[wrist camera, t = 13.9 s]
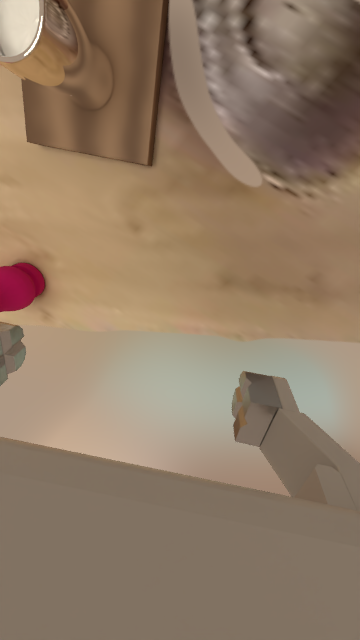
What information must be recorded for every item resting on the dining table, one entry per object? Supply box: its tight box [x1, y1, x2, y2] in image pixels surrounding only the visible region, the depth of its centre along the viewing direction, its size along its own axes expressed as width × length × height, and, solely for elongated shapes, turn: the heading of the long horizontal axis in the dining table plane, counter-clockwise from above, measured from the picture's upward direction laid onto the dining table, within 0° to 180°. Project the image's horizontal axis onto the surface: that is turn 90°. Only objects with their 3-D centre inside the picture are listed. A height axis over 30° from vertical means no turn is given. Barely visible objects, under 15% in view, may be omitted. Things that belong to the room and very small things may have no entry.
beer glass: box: [0, 0, 114, 110], centre depth 24 cm, size 7×7×15 cm
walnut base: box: [21, 0, 169, 166], centre depth 32 cm, size 16×16×3 cm
